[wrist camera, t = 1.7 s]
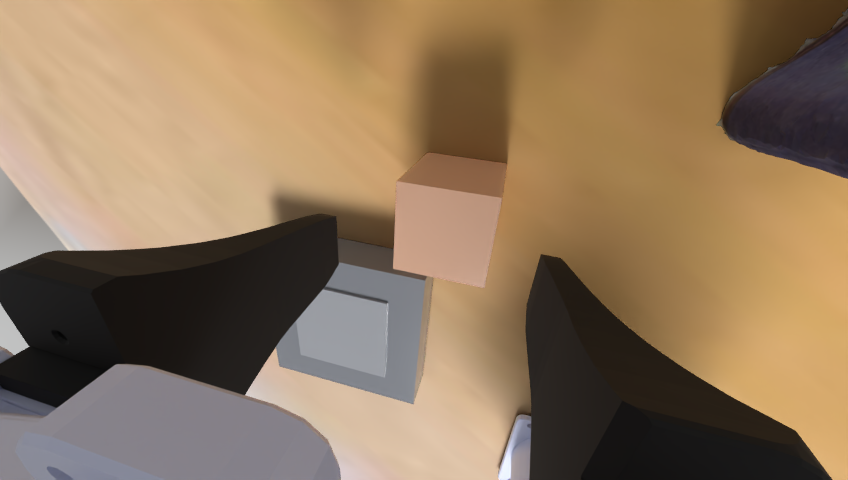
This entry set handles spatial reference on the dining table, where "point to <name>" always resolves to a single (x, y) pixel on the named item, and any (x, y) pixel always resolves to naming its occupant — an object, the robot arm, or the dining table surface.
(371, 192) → the dining table surface
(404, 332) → the slate plinth
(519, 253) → the dining table surface
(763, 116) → the flask
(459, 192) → the terracotta block
